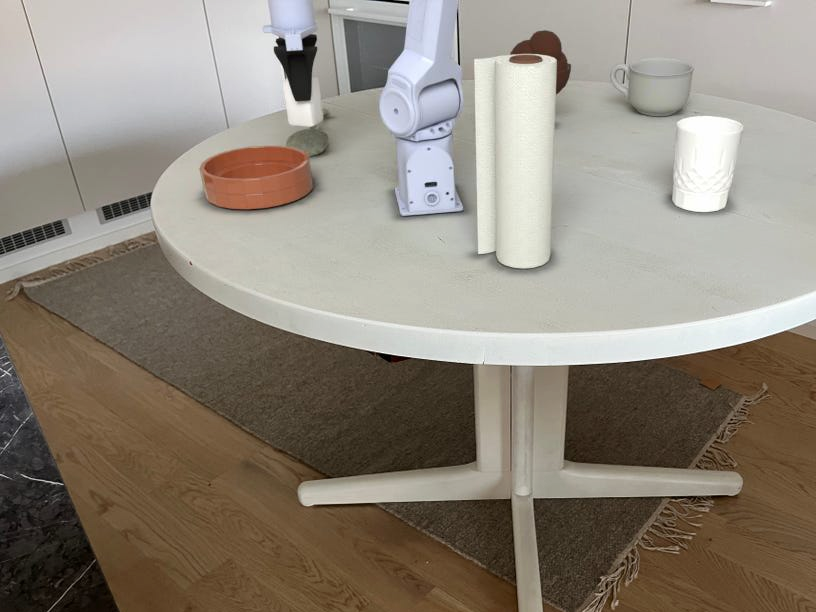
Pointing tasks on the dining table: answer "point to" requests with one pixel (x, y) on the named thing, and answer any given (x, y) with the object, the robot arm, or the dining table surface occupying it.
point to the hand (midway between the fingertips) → (303, 95)
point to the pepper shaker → (304, 106)
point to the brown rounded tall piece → (547, 53)
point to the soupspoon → (310, 139)
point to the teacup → (656, 84)
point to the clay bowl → (256, 177)
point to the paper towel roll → (515, 156)
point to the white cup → (705, 162)
